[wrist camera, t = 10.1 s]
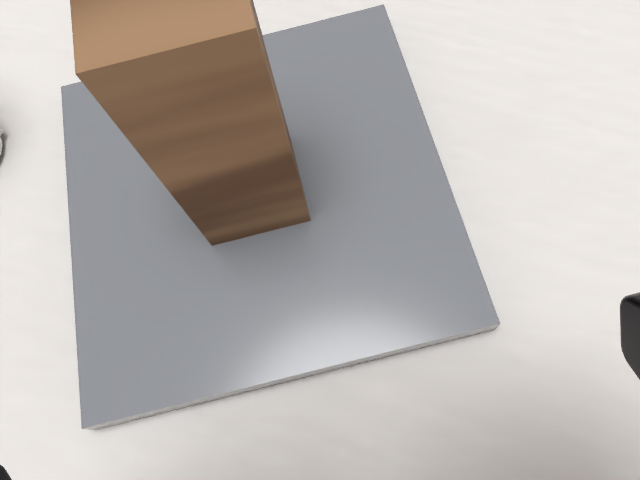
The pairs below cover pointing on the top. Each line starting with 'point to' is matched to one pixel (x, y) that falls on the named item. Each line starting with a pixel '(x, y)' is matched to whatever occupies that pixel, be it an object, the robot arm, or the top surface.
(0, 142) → the photo printer
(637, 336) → the robot arm
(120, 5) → the brown wooden block
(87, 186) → the slate plate
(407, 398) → the top surface
